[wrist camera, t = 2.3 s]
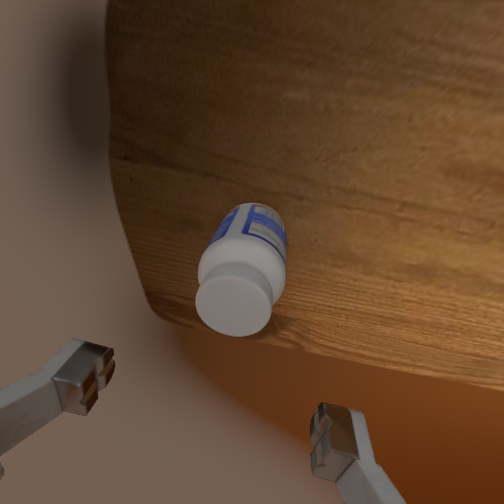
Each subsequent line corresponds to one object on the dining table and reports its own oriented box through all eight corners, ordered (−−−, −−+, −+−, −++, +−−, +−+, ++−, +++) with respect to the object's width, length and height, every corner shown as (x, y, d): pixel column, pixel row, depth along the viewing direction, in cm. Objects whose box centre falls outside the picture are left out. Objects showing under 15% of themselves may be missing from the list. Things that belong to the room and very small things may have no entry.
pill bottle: (231, 263, 24) (199, 350, 15) (214, 207, 21) (164, 273, 13) (292, 255, 22) (293, 344, 14) (280, 194, 20) (273, 258, 12)
